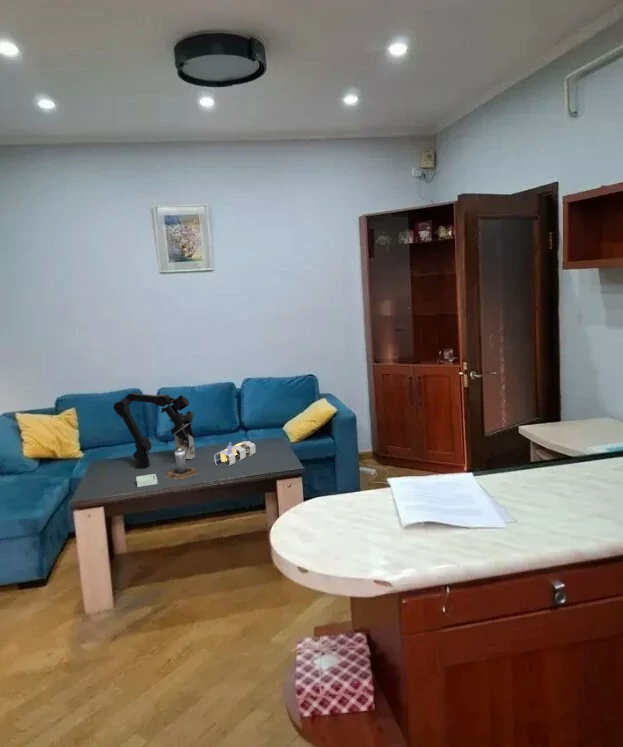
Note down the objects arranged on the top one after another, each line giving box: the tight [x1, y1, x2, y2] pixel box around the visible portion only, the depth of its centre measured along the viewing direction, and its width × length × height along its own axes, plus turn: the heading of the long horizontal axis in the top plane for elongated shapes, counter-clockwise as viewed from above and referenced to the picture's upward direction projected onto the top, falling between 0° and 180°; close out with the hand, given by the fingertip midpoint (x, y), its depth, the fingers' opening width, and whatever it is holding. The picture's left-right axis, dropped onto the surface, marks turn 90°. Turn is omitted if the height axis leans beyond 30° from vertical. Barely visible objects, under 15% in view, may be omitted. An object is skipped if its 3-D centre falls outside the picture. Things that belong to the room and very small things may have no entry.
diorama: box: [213, 440, 257, 467], centre depth 330 cm, size 25×10×13 cm, turn 152°
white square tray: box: [135, 473, 158, 488], centre depth 298 cm, size 10×10×3 cm
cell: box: [174, 448, 187, 475], centre depth 307 cm, size 5×5×14 cm
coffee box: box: [173, 429, 196, 460], centre depth 340 cm, size 9×6×16 cm
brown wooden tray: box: [164, 466, 200, 481], centre depth 308 cm, size 13×13×2 cm
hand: (190, 438), depth 323 cm, fingers open, 9 cm apart
